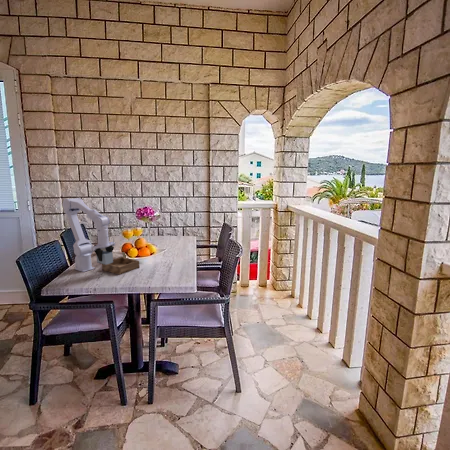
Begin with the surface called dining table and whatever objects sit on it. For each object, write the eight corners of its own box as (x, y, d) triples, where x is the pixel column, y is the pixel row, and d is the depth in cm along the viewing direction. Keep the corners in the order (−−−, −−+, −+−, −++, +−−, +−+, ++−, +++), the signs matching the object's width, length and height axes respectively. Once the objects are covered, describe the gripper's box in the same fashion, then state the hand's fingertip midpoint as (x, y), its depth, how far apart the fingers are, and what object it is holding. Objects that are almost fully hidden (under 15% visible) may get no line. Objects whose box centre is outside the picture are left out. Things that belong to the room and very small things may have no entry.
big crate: (102, 270, 179) (101, 262, 178) (122, 263, 191) (121, 257, 190) (119, 274, 170) (119, 267, 170) (139, 267, 183) (139, 260, 182)
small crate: (97, 262, 171) (96, 252, 170) (104, 260, 175) (103, 250, 174) (105, 264, 167) (104, 254, 166) (113, 262, 171) (112, 252, 170)
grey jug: (103, 251, 221) (102, 231, 219) (119, 253, 217) (117, 233, 214) (94, 254, 213) (93, 234, 210) (110, 256, 208) (109, 235, 206)
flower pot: (120, 262, 195) (119, 249, 193) (121, 258, 204) (120, 246, 202) (135, 261, 197) (134, 248, 196) (135, 257, 206) (135, 245, 205)
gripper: (96, 240, 160) (97, 264, 163) (118, 235, 172) (119, 257, 175) (88, 238, 164) (90, 262, 166) (110, 234, 176) (111, 256, 178)
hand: (104, 259), depth 171 cm, fingers closed on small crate, 5 cm apart
